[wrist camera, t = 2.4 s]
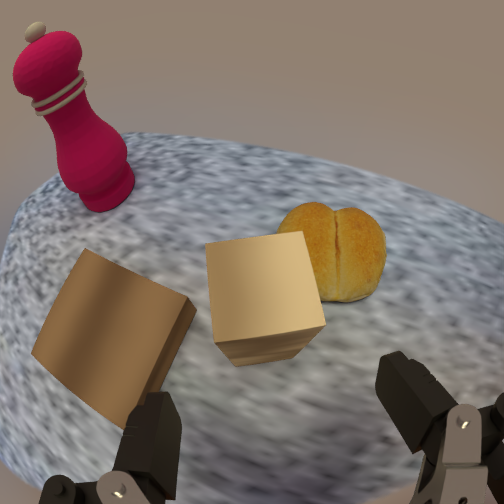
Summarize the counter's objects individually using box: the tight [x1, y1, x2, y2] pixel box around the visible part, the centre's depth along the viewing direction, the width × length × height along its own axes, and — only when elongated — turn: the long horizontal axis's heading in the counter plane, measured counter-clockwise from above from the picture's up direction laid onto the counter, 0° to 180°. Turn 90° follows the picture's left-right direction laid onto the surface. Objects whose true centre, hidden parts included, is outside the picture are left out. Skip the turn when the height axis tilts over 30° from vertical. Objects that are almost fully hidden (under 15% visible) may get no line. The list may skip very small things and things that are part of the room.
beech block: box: [205, 231, 326, 367], centre depth 15 cm, size 4×4×10 cm
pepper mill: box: [13, 22, 135, 212], centre depth 17 cm, size 7×7×20 cm
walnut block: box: [31, 248, 197, 430], centre depth 18 cm, size 10×10×3 cm
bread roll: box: [276, 202, 387, 302], centre depth 20 cm, size 8×9×4 cm
